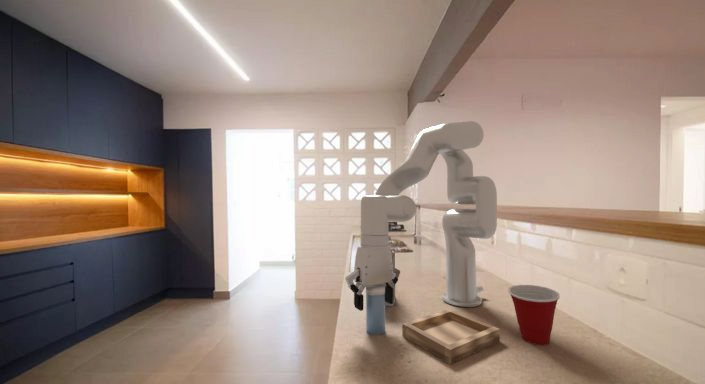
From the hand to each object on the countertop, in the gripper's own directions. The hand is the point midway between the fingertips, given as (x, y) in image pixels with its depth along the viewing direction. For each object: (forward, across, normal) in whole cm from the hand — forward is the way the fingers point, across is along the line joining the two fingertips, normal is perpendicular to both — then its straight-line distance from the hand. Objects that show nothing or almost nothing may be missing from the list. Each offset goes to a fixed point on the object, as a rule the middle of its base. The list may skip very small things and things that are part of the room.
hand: (374, 305), depth 74 cm
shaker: (+7, -1, 0) cm, 7 cm away
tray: (+6, -14, +14) cm, 20 cm away
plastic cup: (+6, -31, +25) cm, 40 cm away
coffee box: (+6, -17, -16) cm, 24 cm away
